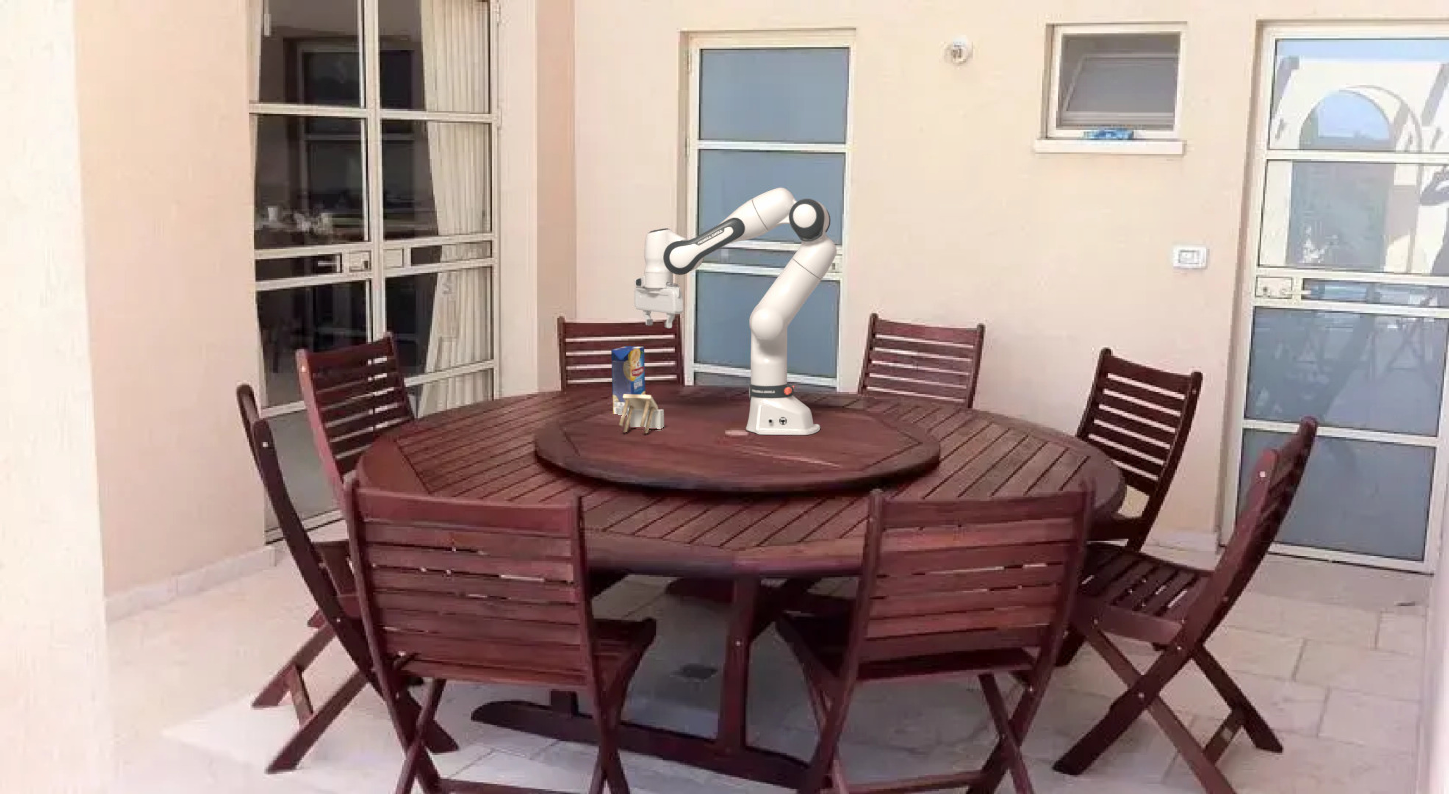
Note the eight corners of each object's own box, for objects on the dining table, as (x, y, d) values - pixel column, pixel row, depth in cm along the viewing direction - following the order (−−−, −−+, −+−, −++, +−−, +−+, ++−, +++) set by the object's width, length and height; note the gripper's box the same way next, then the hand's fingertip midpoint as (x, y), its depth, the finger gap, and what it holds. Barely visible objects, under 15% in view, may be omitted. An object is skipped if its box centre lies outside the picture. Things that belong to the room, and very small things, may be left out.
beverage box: (645, 412, 447) (644, 346, 443) (632, 418, 436) (630, 350, 433) (626, 411, 449) (625, 346, 445) (613, 417, 439) (611, 350, 435)
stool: (650, 435, 408) (658, 406, 413) (643, 424, 402) (651, 395, 407) (623, 434, 411) (630, 405, 416) (615, 422, 405) (623, 394, 410)
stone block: (664, 428, 417) (663, 409, 416) (660, 430, 414) (660, 411, 413) (634, 427, 420) (633, 408, 419) (630, 428, 417) (629, 409, 416)
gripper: (688, 283, 410) (688, 328, 412) (646, 279, 425) (646, 322, 427) (672, 284, 405) (671, 330, 408) (630, 280, 421) (630, 324, 423)
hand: (658, 326), depth 417 cm, fingers open, 8 cm apart
